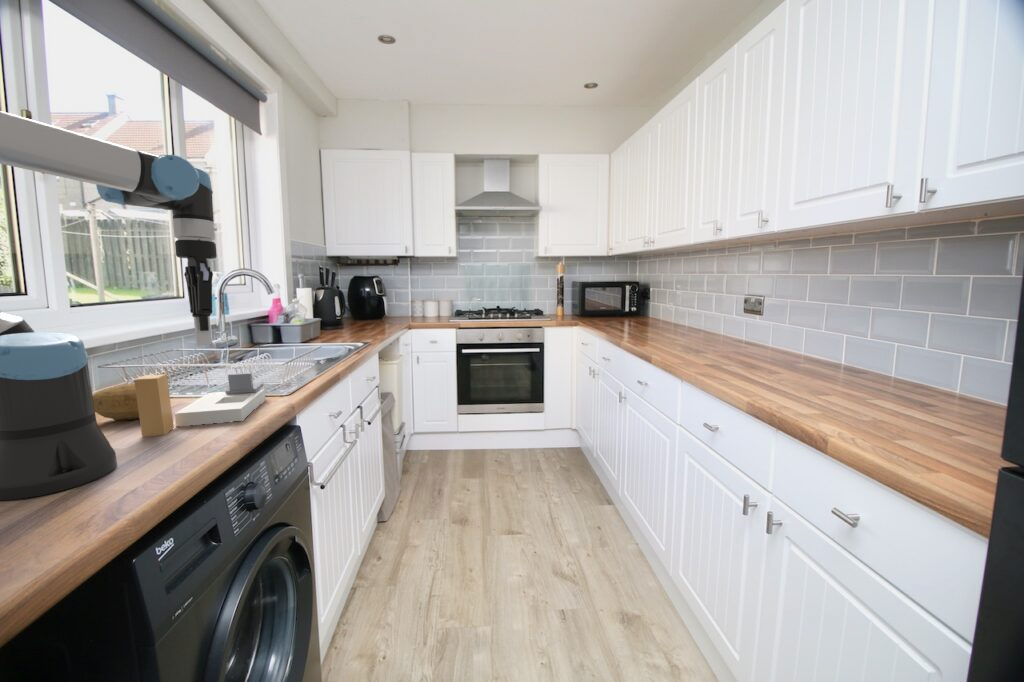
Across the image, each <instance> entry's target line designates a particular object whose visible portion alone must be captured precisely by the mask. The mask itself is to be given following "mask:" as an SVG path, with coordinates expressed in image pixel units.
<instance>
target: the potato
mask: <svg viewBox="0 0 1024 682" xmlns="http://www.w3.org/2000/svg"><path fill="white" fill-rule="evenodd" d="M93 402H94V408H95V414H96V413H97V414H98V415H99V416H101V417H103V418H107V419H112V420H114V421H126V419H131V420H136V418H137V419H140V418H139V411H138V404H137V397H136V390H135V383H130V384H129V383H128V384H125V385H121V386H114V387H108V388H105V389H102V390H100V391H97V392H96V393H95V394H94V395H93Z"/></svg>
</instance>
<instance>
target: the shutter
mask: <svg viewBox="0 0 1024 682" xmlns="http://www.w3.org/2000/svg"><path fill="white" fill-rule="evenodd" d="M252 374H253V373H252V372H242V373H229V374H228V375H227V377H228V388H227V390H225V391H224V392H226V394H235V393H249V392H256V391H258V390H260V389H261V388H263V387H264V382H257V383H256V382H255V383H253V375H252Z"/></svg>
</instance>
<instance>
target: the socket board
mask: <svg viewBox="0 0 1024 682" xmlns="http://www.w3.org/2000/svg"><path fill="white" fill-rule="evenodd" d="M265 391H266V390H265V388H264V389H261V388H260V389H259V390H258V391H256V392H249V393H235V394H226V392H225V391H220V392H219V391H218V392H217V391H216V392H208V393H206V394H204V395H203V396H200V397H199V398H198V399H196V400H194V401H193V402H191V403H190V404H188V405H186V406H185V407H183V408H181V409H179V410H178V411H176V412H174V419H175V421H174V423H175V427H176V426H180V427H191V426H190V425H193V426H203V425H202V424H205V425H214V424H213V423H217V424H224V423H223V422H229V423H232V422H231V421H242V422H243V421H245V418H246V417H247V416H248V415H249V414H250V413H251V412H252V411H253V410H254V409H255V410H257V409H258V408H259V407H260V406H261V405H262V404H263V403H264V402H266V392H265ZM260 404H261V405H260ZM259 405H260V406H259ZM258 406H259V407H258ZM257 407H258V408H257ZM256 408H257V409H256ZM255 410H254V411H255ZM254 411H253V412H254ZM253 412H252V413H253ZM252 413H251V414H252ZM251 414H250V415H251ZM250 415H249V416H250ZM249 416H248V417H249ZM248 417H247V418H248ZM247 418H246V419H247Z"/></svg>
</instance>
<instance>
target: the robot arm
mask: <svg viewBox="0 0 1024 682" xmlns="http://www.w3.org/2000/svg"><path fill="white" fill-rule="evenodd" d="M0 164H1V165H5V166H10V167H14V168H19V169H23V170H28V171H32V172H37V173H41V174H47V175H51V176H56V177H59V178H64V179H70V180H74V181H78V182H84V183H89V184H93V185H96V186H95V187H96V189H97V192H98V195H99V197H100V198H101V199H102V200H103V201H105V202H108V203H113V204H119V205H121V206H132V207H133V206H134V207H135V206H136V207H141V208H143V207H144V208H151V209H159V210H163V211H164V210H165V211H171V213H172V229H173V237H174V238H175V239H177V240H175V241H174V246H175V247H174V248H175V255H176V257H177V258H180V259H187V266H185V272H184V274H183V275H184V277H185V282H186V289H187V294H188V300H189V308H190V310H189V312H190V314H191V316H192V318H193V322H194V334H195V335H194V337H195V346H197V347H198V346H199V347H200V346H209V345H210V346H211V345H213V344H212V332H211V318H210V316H211V315H212V314H213V276H214V273H213V271H212V270H211V267H210V266H209V263H208V260H215V259H216V258H217V255H218V253H217V244H216V243H215V242H214V240H216V235H215V234H216V233H215V232H217V231H218V228H217V226H214V225H215V223H214V221H215V219H214V205H213V188H212V187H213V186H212V181H211V177H210V174H209V173H208V172H207V171H206V170H204V169H202V168H198V167H195V166H194V165H193V164H192V163H191V162H190V161H189V160H187V159H186V158H184V157H182V156H179V155H176V154H161V155H155V154H152V153H148V152H145V151H142V150H137V149H133V148H130V147H128V146H124V145H119V144H117V143H112V142H110V141H106V140H103V139H99V138H95V137H92V136H88V135H86V134H82V133H78V132H75V131H73V130H72V131H71V130H68V129H65V128H61V127H59V126H55V125H50V124H48V123H44V122H40V121H37V120H33V119H30V118H26V117H22V116H19V115H17V114H14V113H13V114H12V113H9V112H7V111H6V112H5V111H3V110H0ZM88 364H89V355H88V351H86V348H85V344H84V341H83V340H82V339H81V338H80V337H78V336H76V335H74V334H71V333H70V334H69V333H65V332H50V331H49V332H48V331H47V332H45V331H43V332H42V331H40V332H39V331H38V332H35V330H34V329H33V328H32V327H31V326H30V325H29V323H27V321H26V320H25V319H24V318H23V317H22V316H17V315H14V314H13V315H12V314H9V313H5V312H3V311H2V309H0V501H12V500H13V499H14V500H22V498H23V499H29V498H28V497H30V498H34V497H35V496H36V497H40V496H46V495H50V494H54V493H58V492H62V491H66V490H70V489H72V488H75V487H79V486H82V485H84V484H88V483H90V482H93V481H94V480H97V479H100V478H103V477H104V476H106V475H107V474H109V473H110V472H113V470H115V468H117V466H118V461H117V455H116V451H115V449H114V448H113V447H112V445H111V443H110V441H109V440H108V439H107V438H106V435H105V434H104V433H103V431H102V430H101V428H100V427H99V424H98V421H97V416H96V412H95V408H94V402H93V396H94V395H93V389H92V384H91V383H92V382H91V375H90V369H89V365H88ZM36 497H35V498H36Z"/></svg>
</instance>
